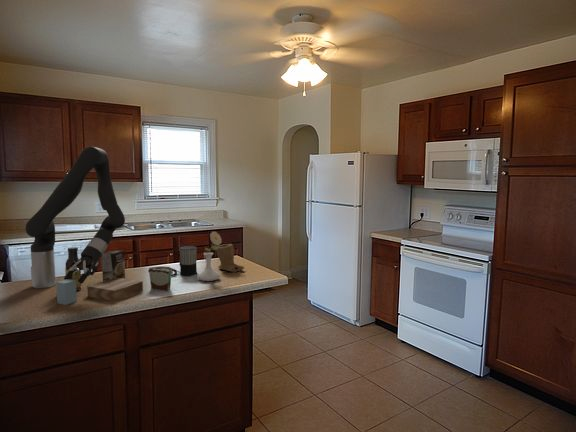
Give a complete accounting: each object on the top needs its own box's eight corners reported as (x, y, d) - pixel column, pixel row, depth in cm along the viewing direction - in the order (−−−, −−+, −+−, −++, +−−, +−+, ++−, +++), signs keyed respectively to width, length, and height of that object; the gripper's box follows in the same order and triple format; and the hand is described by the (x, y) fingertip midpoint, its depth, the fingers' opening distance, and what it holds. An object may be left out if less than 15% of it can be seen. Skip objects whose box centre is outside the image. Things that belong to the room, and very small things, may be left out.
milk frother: (201, 273, 206) (200, 247, 205) (178, 280, 193) (177, 251, 191) (183, 270, 214) (182, 244, 212) (160, 276, 200) (159, 248, 199)
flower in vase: (204, 284, 185) (203, 234, 183) (193, 279, 194) (192, 231, 191) (227, 279, 194) (226, 231, 191) (215, 275, 202) (215, 229, 200)
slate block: (57, 303, 156) (56, 282, 155) (68, 299, 161) (67, 279, 160) (65, 304, 154) (64, 283, 153) (76, 301, 159) (75, 280, 158)
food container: (178, 288, 179) (178, 267, 178) (170, 291, 173) (170, 270, 172) (157, 285, 183) (156, 265, 182) (148, 288, 177) (147, 268, 176)
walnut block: (87, 297, 166) (87, 286, 165) (117, 287, 180) (116, 277, 180) (114, 302, 159) (114, 290, 159) (142, 291, 174) (142, 281, 173)
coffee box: (114, 287, 180) (112, 253, 178) (102, 286, 181) (101, 253, 179) (126, 282, 189) (124, 250, 187) (114, 281, 190) (113, 249, 188)
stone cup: (212, 269, 216) (212, 243, 214) (230, 266, 223) (230, 241, 222) (226, 274, 204) (226, 247, 203) (244, 271, 212) (244, 245, 210)
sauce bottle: (70, 292, 170) (68, 249, 168) (63, 290, 173) (60, 248, 171) (84, 289, 176) (82, 247, 174) (77, 287, 179) (75, 246, 177)
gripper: (77, 244, 169) (54, 275, 159) (100, 246, 163) (78, 278, 154) (88, 253, 174) (67, 284, 165) (111, 256, 169) (90, 287, 159)
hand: (72, 281), depth 159 cm, fingers open, 8 cm apart
